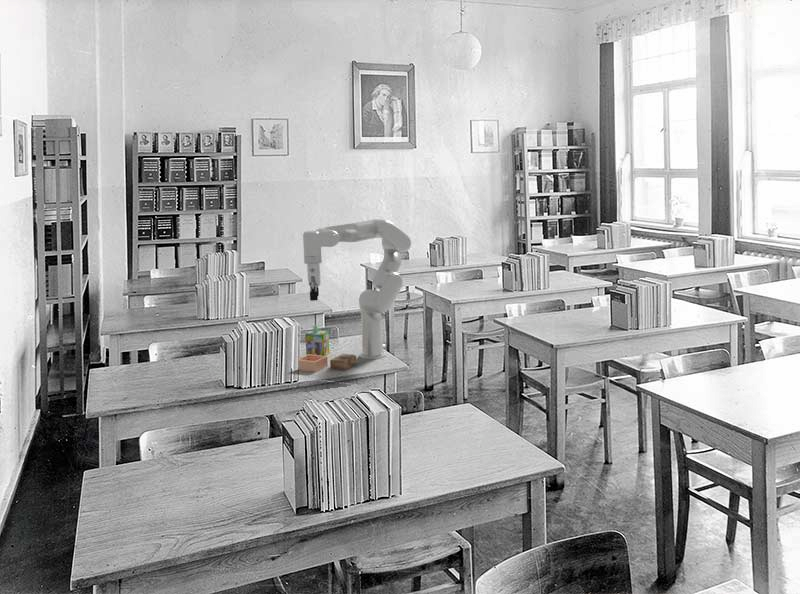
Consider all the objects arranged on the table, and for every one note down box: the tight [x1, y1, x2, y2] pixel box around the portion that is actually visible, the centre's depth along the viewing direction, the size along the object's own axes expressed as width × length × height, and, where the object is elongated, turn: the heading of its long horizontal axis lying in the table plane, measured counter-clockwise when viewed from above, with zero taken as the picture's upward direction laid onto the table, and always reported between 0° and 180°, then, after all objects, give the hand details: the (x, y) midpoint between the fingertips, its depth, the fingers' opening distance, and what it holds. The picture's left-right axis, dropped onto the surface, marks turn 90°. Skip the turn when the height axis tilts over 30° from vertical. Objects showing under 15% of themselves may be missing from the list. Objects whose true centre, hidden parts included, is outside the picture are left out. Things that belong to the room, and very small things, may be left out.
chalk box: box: [304, 324, 330, 357], centre depth 346 cm, size 9×9×15 cm
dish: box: [298, 354, 329, 373], centre depth 326 cm, size 10×10×5 cm
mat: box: [325, 362, 362, 372], centre depth 327 cm, size 14×10×1 cm
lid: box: [329, 353, 357, 370], centre depth 327 cm, size 11×7×5 cm, turn 155°
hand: (314, 298), depth 322 cm, fingers open, 9 cm apart
